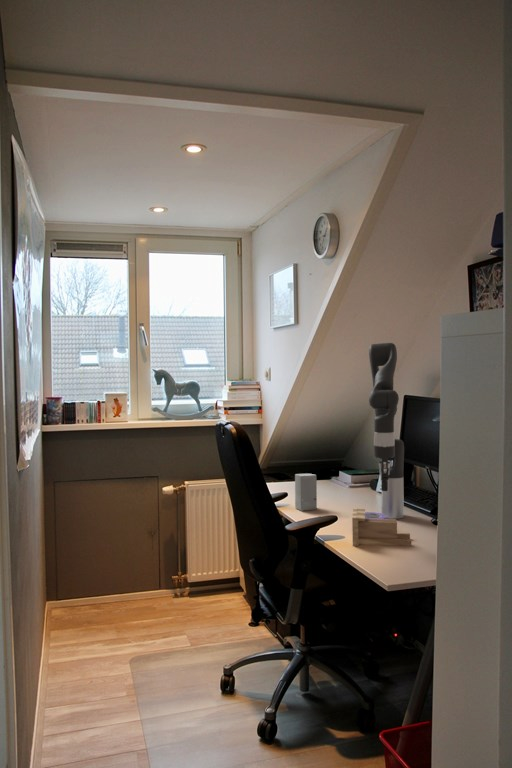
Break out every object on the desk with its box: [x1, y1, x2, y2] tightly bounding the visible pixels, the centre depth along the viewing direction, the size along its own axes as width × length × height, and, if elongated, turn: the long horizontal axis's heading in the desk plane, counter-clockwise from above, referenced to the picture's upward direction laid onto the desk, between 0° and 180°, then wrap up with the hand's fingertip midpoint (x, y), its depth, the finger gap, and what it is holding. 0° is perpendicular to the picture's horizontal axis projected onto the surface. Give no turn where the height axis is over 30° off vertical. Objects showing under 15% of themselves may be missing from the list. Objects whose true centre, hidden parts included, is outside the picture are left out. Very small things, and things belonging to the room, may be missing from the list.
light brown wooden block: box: [358, 518, 398, 539], centre depth 235 cm, size 5×14×8 cm, turn 80°
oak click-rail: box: [351, 508, 412, 547], centre depth 235 cm, size 14×21×10 cm, turn 80°
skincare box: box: [294, 473, 318, 512], centre depth 286 cm, size 8×7×16 cm
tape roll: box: [365, 511, 387, 519], centre depth 254 cm, size 12×12×5 cm
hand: (384, 490), depth 234 cm, fingers closed
